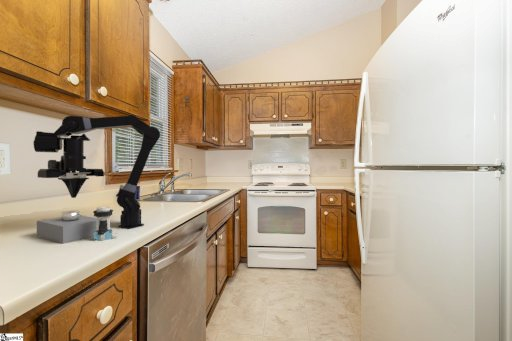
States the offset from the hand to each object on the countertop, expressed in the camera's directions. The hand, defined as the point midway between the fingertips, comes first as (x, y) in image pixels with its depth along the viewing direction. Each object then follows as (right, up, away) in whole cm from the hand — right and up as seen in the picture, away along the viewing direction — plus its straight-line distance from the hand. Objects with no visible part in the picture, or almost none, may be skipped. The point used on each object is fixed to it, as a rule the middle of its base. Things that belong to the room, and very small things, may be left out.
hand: (73, 197), depth 89 cm
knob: (+3, -12, -5) cm, 13 cm away
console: (+3, -12, -5) cm, 13 cm away
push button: (+16, -12, -9) cm, 22 cm away
